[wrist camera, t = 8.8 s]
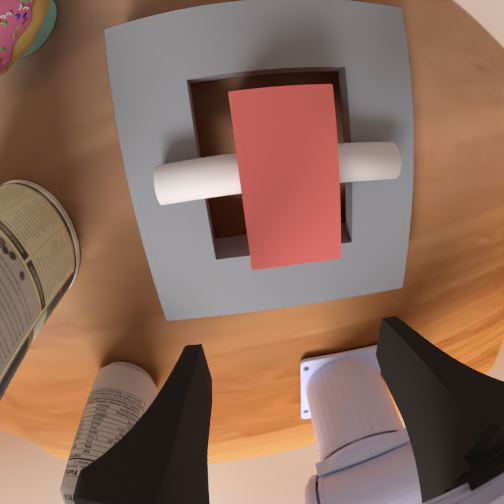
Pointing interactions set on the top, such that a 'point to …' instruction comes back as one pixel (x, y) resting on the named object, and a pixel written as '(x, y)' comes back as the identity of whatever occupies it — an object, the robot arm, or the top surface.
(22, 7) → the cupcake
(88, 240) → the top surface
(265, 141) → the red arch block
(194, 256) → the grey frame with dowel
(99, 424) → the energy drink can
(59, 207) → the coffee can
